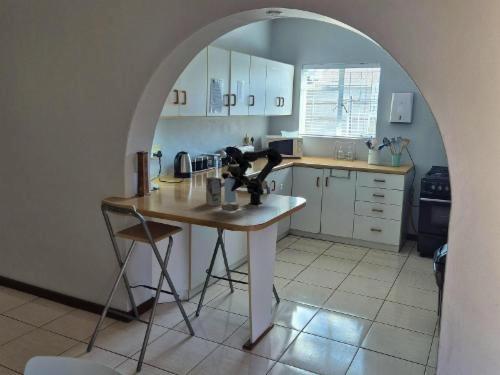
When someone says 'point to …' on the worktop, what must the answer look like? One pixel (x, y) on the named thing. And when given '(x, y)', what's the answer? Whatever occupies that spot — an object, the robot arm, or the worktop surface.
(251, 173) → the worktop surface
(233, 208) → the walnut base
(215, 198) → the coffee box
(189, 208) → the worktop surface
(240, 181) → the robot arm
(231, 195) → the pillar
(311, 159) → the worktop surface
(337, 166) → the worktop surface
